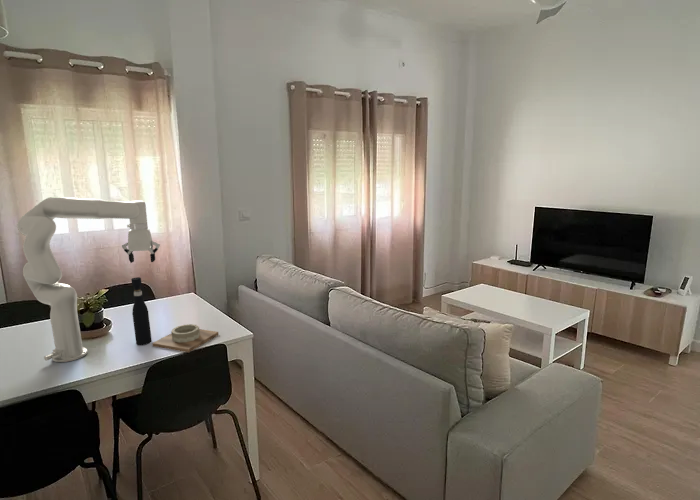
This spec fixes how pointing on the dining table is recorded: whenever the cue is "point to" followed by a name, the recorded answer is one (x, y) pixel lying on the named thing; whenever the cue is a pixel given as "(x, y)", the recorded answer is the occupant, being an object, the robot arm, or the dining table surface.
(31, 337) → the dining table surface
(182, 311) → the dining table surface
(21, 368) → the dining table surface
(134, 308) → the wine bottle
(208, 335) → the bottle stand
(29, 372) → the dining table surface
